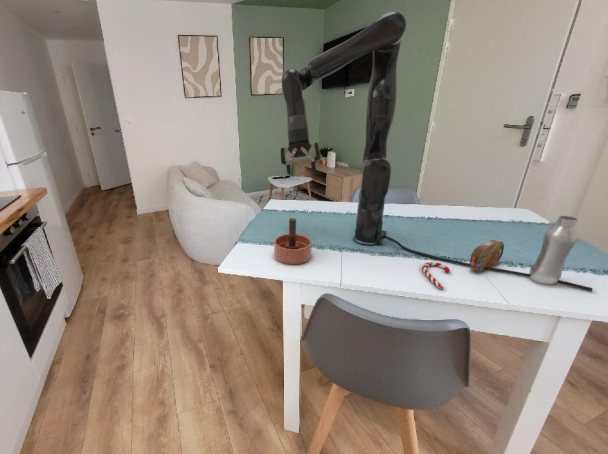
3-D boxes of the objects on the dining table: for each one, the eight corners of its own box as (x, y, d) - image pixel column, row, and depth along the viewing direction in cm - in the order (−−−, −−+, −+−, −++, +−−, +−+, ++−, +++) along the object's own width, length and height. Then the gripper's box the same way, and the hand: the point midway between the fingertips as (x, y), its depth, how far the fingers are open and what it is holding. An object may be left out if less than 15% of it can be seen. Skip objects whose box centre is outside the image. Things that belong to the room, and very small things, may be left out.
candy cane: (428, 284, 85) (420, 259, 98) (427, 287, 85) (419, 263, 98) (459, 288, 82) (447, 263, 95) (458, 292, 83) (446, 266, 95)
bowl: (312, 250, 110) (313, 235, 108) (307, 267, 99) (308, 251, 96) (278, 246, 114) (278, 232, 112) (270, 262, 103) (270, 247, 101)
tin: (475, 275, 90) (482, 251, 87) (464, 271, 92) (471, 247, 89) (500, 262, 96) (508, 239, 93) (489, 258, 99) (497, 236, 95)
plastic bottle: (520, 276, 89) (544, 214, 81) (541, 274, 89) (566, 213, 81) (542, 288, 83) (569, 223, 75) (564, 286, 83) (593, 221, 75)
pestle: (299, 252, 108) (300, 217, 102) (297, 258, 104) (298, 222, 98) (286, 250, 109) (287, 216, 104) (284, 256, 105) (284, 221, 100)
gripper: (276, 131, 105) (281, 176, 108) (316, 124, 100) (320, 171, 103) (280, 133, 112) (284, 175, 115) (318, 126, 107) (321, 171, 110)
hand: (301, 173), depth 109 cm, fingers open, 8 cm apart
